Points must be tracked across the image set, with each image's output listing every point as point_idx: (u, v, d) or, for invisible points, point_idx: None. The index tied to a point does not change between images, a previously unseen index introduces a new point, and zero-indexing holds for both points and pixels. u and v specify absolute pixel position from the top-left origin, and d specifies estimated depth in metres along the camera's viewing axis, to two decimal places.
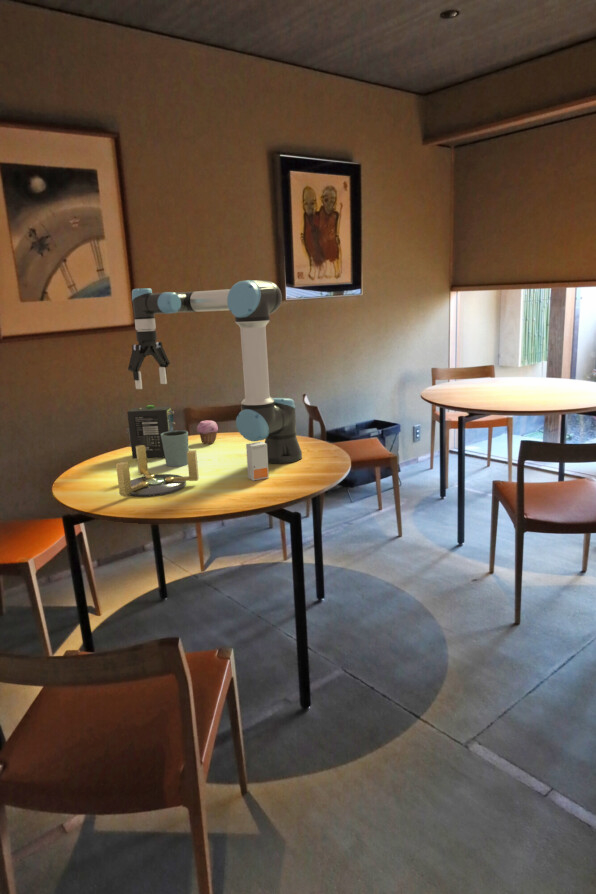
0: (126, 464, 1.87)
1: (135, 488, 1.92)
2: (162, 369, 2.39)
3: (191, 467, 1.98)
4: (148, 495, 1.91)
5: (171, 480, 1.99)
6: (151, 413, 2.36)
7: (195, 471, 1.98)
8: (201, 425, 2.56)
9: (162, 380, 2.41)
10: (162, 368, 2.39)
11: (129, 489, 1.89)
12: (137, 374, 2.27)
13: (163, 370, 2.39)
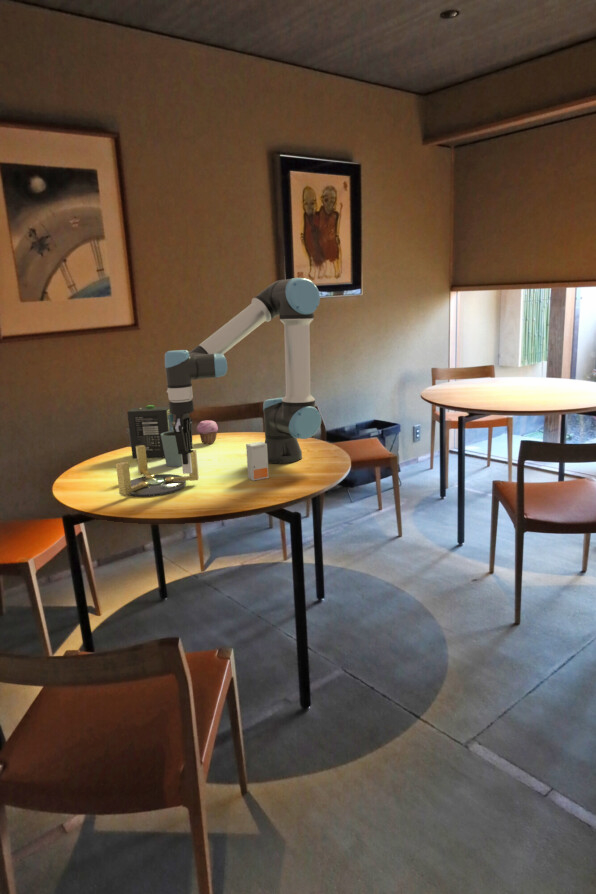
0: (126, 464, 1.87)
1: (135, 488, 1.92)
2: None
3: (192, 467, 1.98)
4: (148, 495, 1.91)
5: (171, 480, 1.99)
6: (151, 413, 2.36)
7: (195, 471, 1.99)
8: (201, 425, 2.56)
9: None
10: None
11: (129, 489, 1.89)
12: (187, 457, 1.93)
13: None
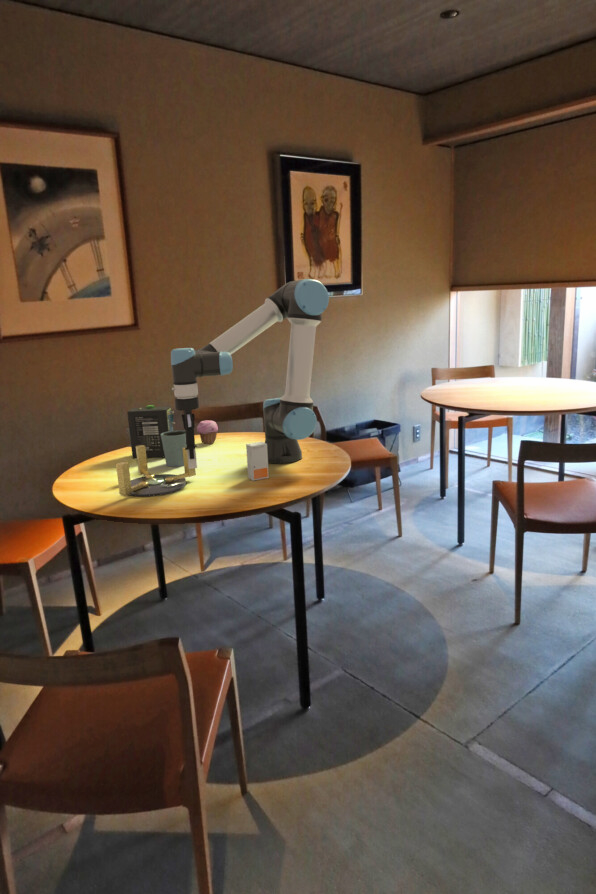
0: (126, 464, 1.87)
1: (135, 488, 1.92)
2: None
3: None
4: (148, 495, 1.91)
5: (173, 479, 2.00)
6: (151, 413, 2.36)
7: None
8: (201, 425, 2.56)
9: None
10: None
11: (129, 489, 1.89)
12: (193, 452, 1.99)
13: None
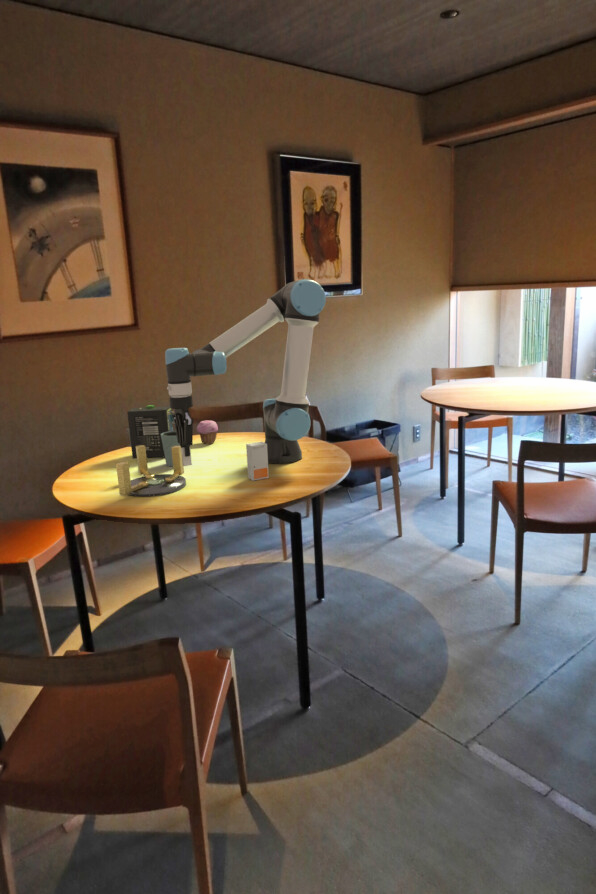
0: (126, 464, 1.87)
1: (135, 488, 1.92)
2: None
3: (181, 461, 2.06)
4: (148, 495, 1.91)
5: (173, 478, 2.01)
6: (151, 413, 2.36)
7: (182, 464, 2.08)
8: (201, 425, 2.56)
9: None
10: None
11: (129, 489, 1.89)
12: None
13: None
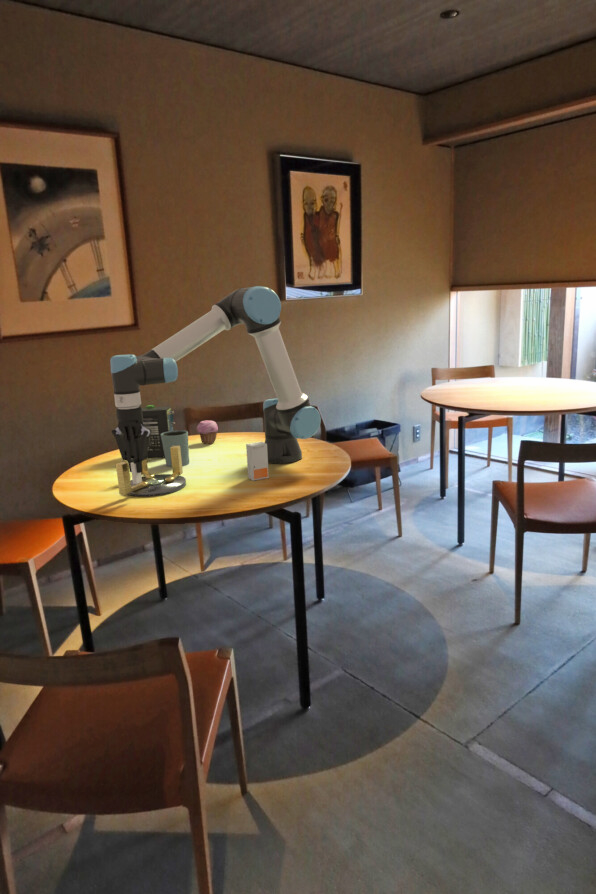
0: (126, 464, 1.87)
1: (135, 488, 1.92)
2: None
3: (180, 461, 2.07)
4: (148, 495, 1.91)
5: None
6: (151, 413, 2.36)
7: (181, 464, 2.08)
8: (201, 425, 2.56)
9: None
10: None
11: (129, 489, 1.89)
12: None
13: None
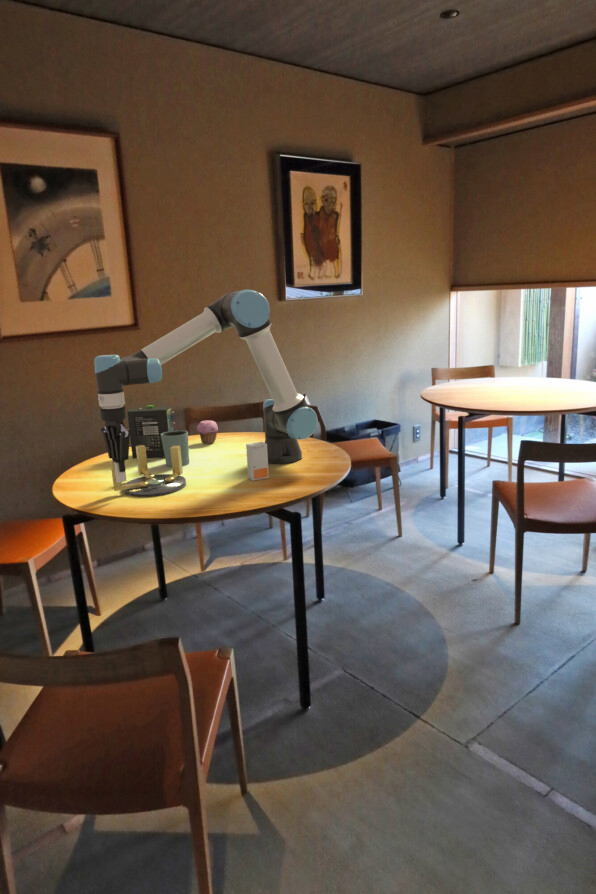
0: None
1: (129, 486, 1.94)
2: None
3: (180, 461, 2.07)
4: (148, 495, 1.91)
5: None
6: (151, 413, 2.36)
7: (181, 464, 2.08)
8: (201, 425, 2.56)
9: None
10: None
11: (119, 486, 1.92)
12: None
13: None
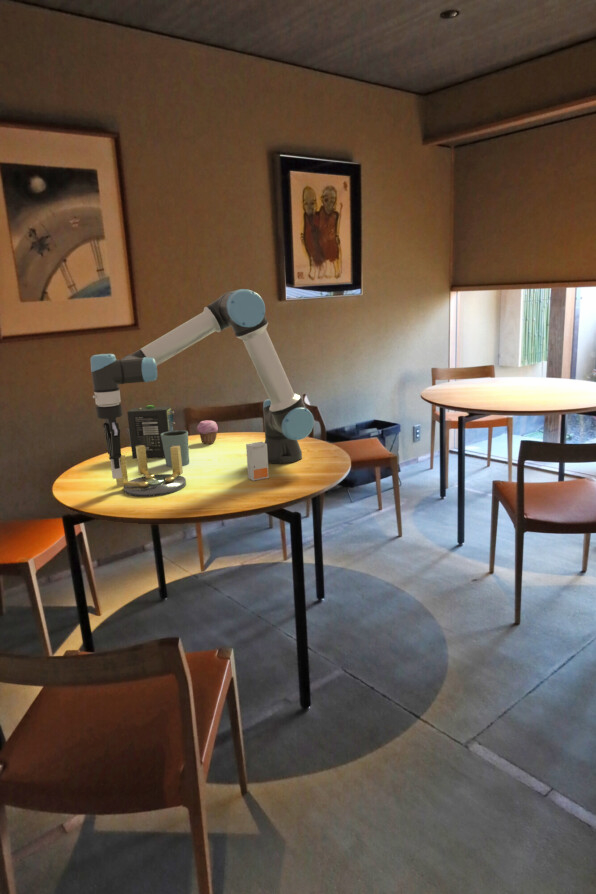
0: None
1: (130, 484, 1.97)
2: None
3: (180, 461, 2.07)
4: (148, 495, 1.91)
5: None
6: (151, 413, 2.36)
7: (181, 464, 2.08)
8: (201, 425, 2.56)
9: None
10: None
11: (121, 482, 1.97)
12: (118, 461, 1.92)
13: None
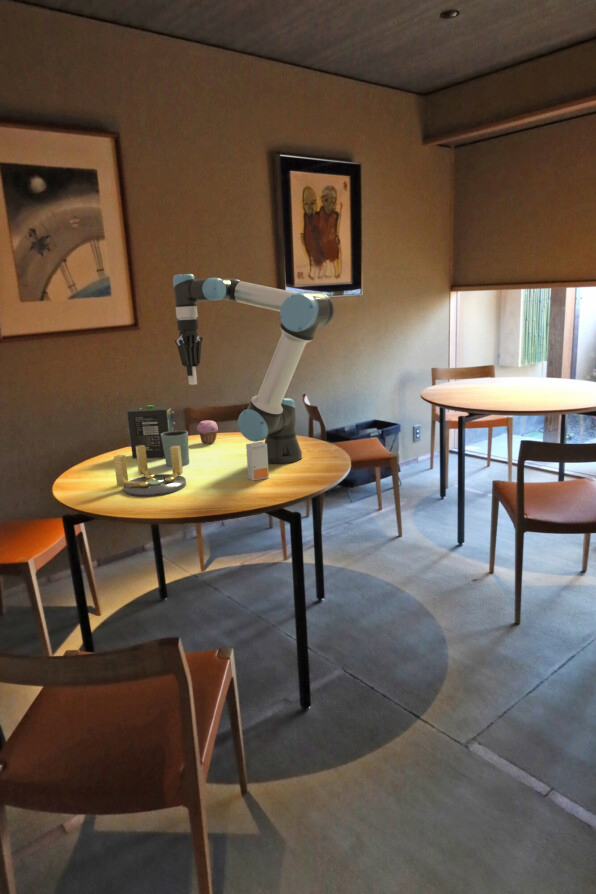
0: (118, 458, 1.95)
1: (130, 484, 1.97)
2: None
3: (180, 461, 2.07)
4: (148, 495, 1.91)
5: None
6: (152, 413, 2.36)
7: (181, 464, 2.08)
8: (201, 425, 2.56)
9: None
10: None
11: (121, 482, 1.97)
12: (191, 369, 2.21)
13: None
